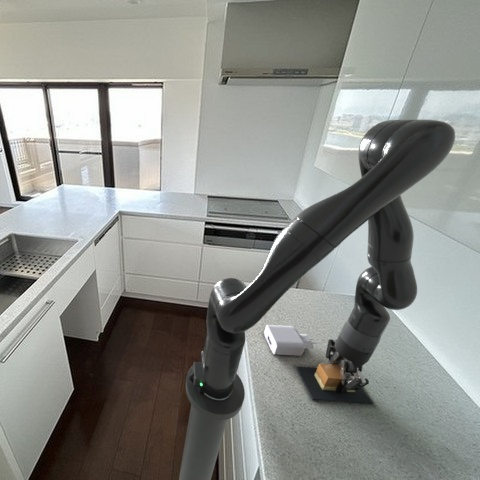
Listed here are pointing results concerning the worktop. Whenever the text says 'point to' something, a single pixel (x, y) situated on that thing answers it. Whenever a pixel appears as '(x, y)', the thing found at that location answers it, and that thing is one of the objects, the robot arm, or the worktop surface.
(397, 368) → the worktop surface
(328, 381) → the brush
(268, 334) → the charger
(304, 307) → the worktop surface
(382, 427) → the worktop surface
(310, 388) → the mat
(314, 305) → the worktop surface
